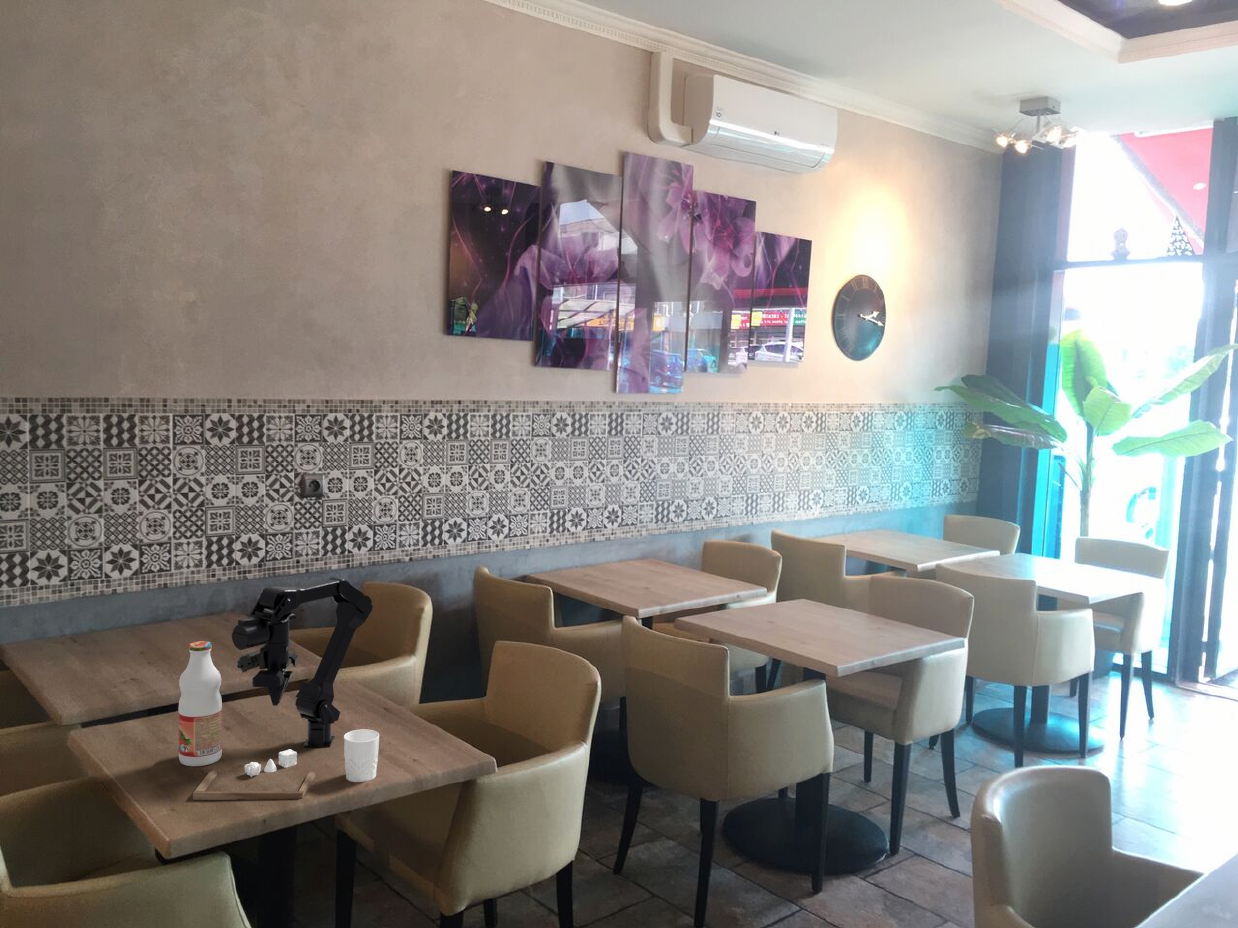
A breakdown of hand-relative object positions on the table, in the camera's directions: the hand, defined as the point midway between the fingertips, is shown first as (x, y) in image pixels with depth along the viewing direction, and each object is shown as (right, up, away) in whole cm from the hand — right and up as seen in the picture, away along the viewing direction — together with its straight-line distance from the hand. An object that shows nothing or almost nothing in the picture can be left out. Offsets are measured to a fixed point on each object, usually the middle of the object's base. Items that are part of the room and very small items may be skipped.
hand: (276, 704), depth 238 cm
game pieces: (+1, -14, -6) cm, 15 cm away
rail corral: (+1, -15, -15) cm, 21 cm away
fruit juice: (-17, -13, -2) cm, 22 cm away
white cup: (+22, -15, -8) cm, 28 cm away
